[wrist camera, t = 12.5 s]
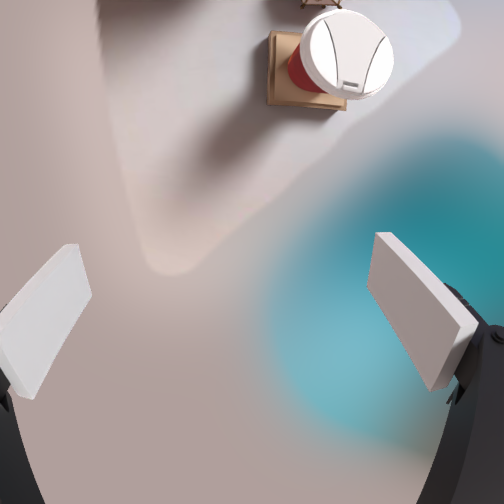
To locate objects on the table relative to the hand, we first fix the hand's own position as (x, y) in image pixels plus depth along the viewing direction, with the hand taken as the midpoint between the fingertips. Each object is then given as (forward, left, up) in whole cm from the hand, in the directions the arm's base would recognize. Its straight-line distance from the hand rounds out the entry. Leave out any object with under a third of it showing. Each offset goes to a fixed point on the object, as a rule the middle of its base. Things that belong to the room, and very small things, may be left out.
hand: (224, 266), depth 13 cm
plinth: (-12, +9, -32) cm, 35 cm away
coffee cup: (-12, +9, -28) cm, 32 cm away
